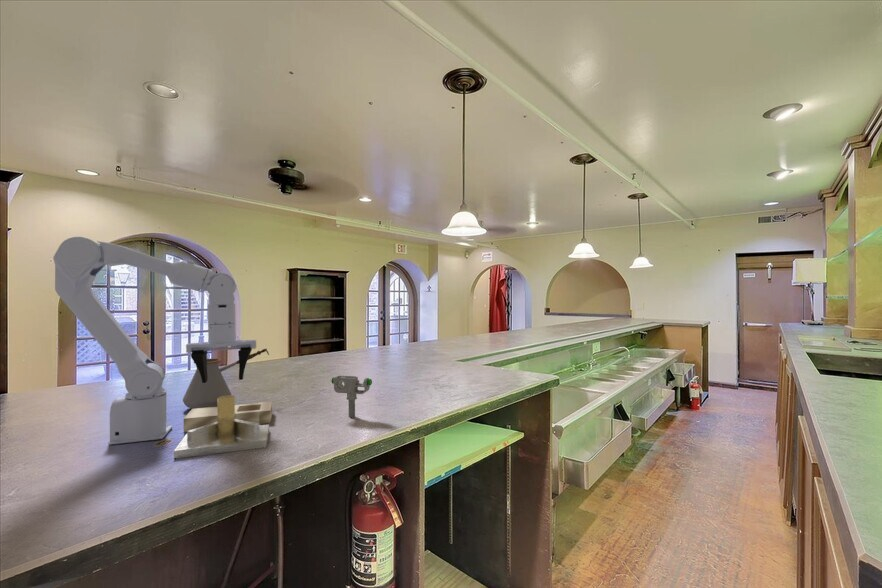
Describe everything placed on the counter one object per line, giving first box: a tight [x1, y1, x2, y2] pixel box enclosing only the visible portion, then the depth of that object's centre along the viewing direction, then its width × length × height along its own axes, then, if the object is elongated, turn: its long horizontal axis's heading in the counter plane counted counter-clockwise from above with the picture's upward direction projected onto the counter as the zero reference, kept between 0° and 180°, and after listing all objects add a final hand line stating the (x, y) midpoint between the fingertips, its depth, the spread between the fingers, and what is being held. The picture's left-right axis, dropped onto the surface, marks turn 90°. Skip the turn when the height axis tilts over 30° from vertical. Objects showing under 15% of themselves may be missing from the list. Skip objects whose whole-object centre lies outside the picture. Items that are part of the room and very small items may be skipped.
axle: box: [217, 394, 236, 438], centre depth 83 cm, size 3×3×8 cm
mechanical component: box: [331, 375, 373, 418], centre depth 100 cm, size 3×10×10 cm, turn 79°
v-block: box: [173, 419, 270, 459], centre depth 82 cm, size 16×10×4 cm, turn 110°
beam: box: [183, 401, 273, 433], centre depth 96 cm, size 18×8×3 cm, turn 111°
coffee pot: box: [182, 348, 270, 411], centre depth 111 cm, size 21×12×15 cm, turn 123°
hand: (223, 380), depth 94 cm, fingers open, 7 cm apart
